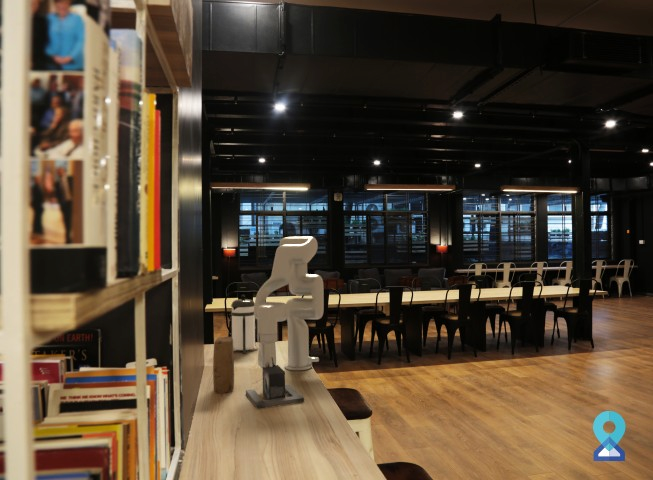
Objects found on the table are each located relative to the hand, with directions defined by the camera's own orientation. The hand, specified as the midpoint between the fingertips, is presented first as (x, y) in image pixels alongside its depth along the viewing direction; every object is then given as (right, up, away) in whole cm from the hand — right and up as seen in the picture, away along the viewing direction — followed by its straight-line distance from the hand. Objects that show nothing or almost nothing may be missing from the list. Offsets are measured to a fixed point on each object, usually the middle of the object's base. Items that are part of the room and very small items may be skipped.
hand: (267, 385), depth 172 cm
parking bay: (+3, -2, -8) cm, 9 cm away
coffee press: (-22, -4, +70) cm, 73 cm away
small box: (+3, -2, -8) cm, 9 cm away
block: (-17, -3, +2) cm, 17 cm away
